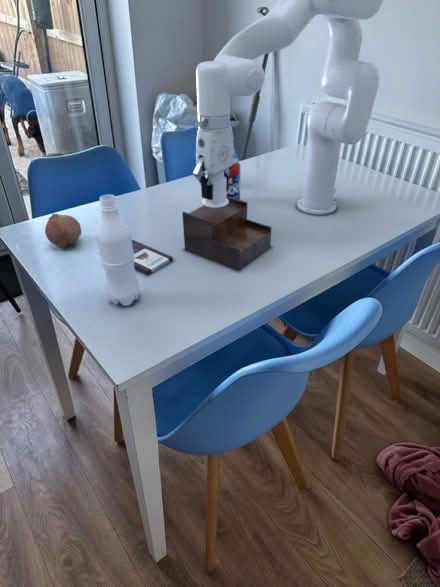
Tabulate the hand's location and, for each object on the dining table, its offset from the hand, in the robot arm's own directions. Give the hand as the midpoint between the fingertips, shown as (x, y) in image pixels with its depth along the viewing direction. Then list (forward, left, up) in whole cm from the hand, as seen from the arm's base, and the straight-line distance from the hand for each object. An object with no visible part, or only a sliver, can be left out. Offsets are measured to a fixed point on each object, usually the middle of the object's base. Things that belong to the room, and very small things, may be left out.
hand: (215, 193), depth 110 cm
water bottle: (+33, -1, -15) cm, 36 cm away
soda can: (-23, -13, -15) cm, 30 cm away
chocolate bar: (+18, -13, -15) cm, 27 cm away
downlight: (0, 0, -3) cm, 3 cm away
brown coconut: (+25, -34, -15) cm, 45 cm away
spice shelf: (0, +4, -15) cm, 15 cm away
